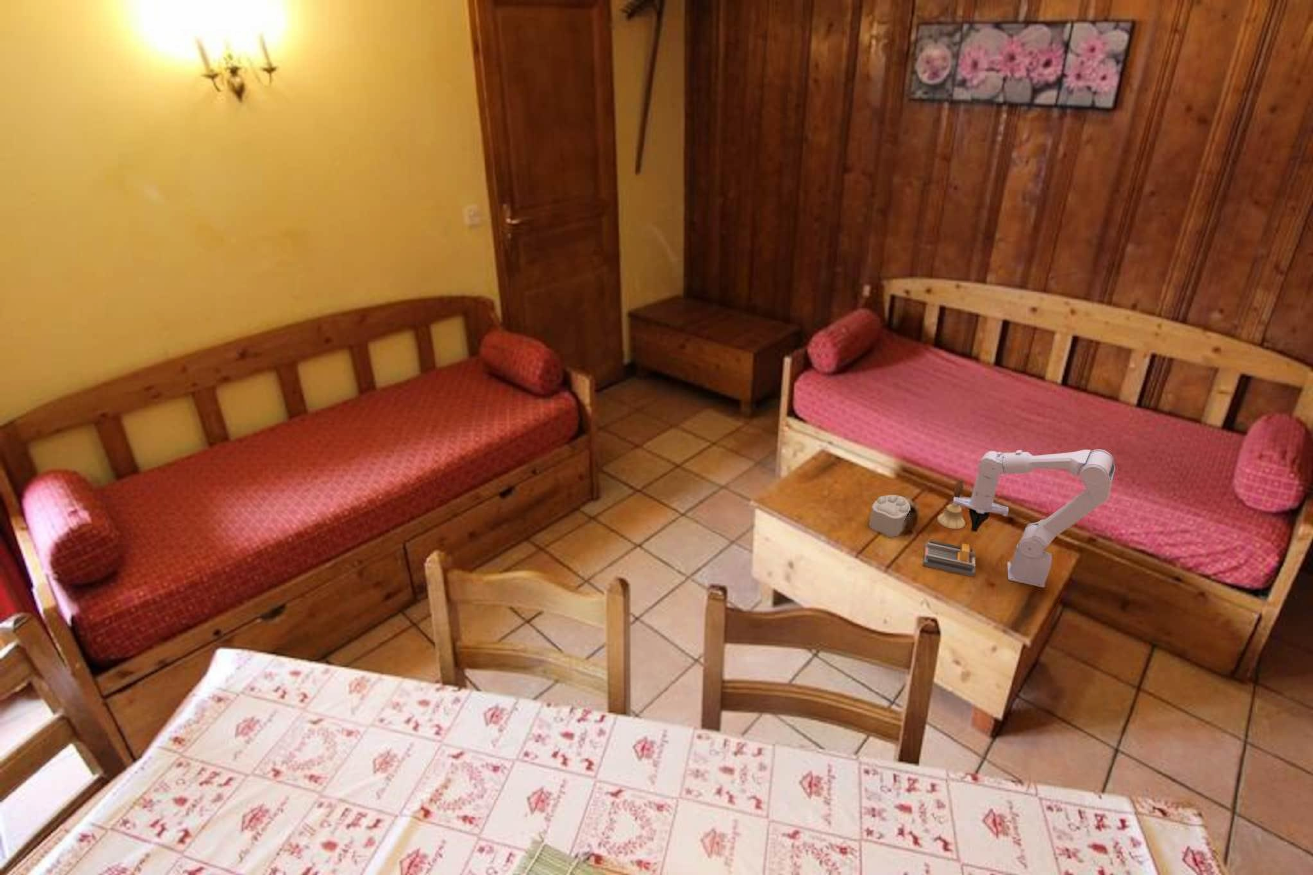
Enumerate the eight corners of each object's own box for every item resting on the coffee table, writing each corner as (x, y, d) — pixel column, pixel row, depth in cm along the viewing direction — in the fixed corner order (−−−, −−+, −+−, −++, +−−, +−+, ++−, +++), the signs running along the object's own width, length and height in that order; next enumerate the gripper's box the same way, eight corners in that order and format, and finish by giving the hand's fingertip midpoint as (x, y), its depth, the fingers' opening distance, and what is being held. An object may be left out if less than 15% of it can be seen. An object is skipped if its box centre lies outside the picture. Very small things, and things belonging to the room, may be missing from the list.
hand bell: (938, 527, 227) (948, 485, 219) (936, 512, 234) (945, 471, 226) (966, 531, 226) (977, 488, 218) (963, 515, 233) (973, 474, 225)
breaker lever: (968, 556, 212) (971, 544, 210) (968, 565, 209) (971, 553, 207) (957, 554, 213) (960, 542, 211) (957, 562, 210) (960, 550, 208)
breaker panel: (974, 556, 215) (976, 549, 213) (974, 577, 207) (976, 569, 205) (925, 545, 219) (926, 538, 218) (923, 565, 211) (924, 558, 210)
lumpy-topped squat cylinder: (864, 526, 228) (868, 504, 224) (883, 508, 236) (887, 486, 232) (895, 539, 222) (900, 516, 218) (913, 520, 231) (918, 498, 226)
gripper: (956, 493, 203) (947, 531, 210) (1012, 503, 198) (1001, 543, 205) (957, 480, 209) (948, 518, 216) (1011, 490, 204) (1000, 529, 211)
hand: (973, 529), depth 211 cm, fingers closed
